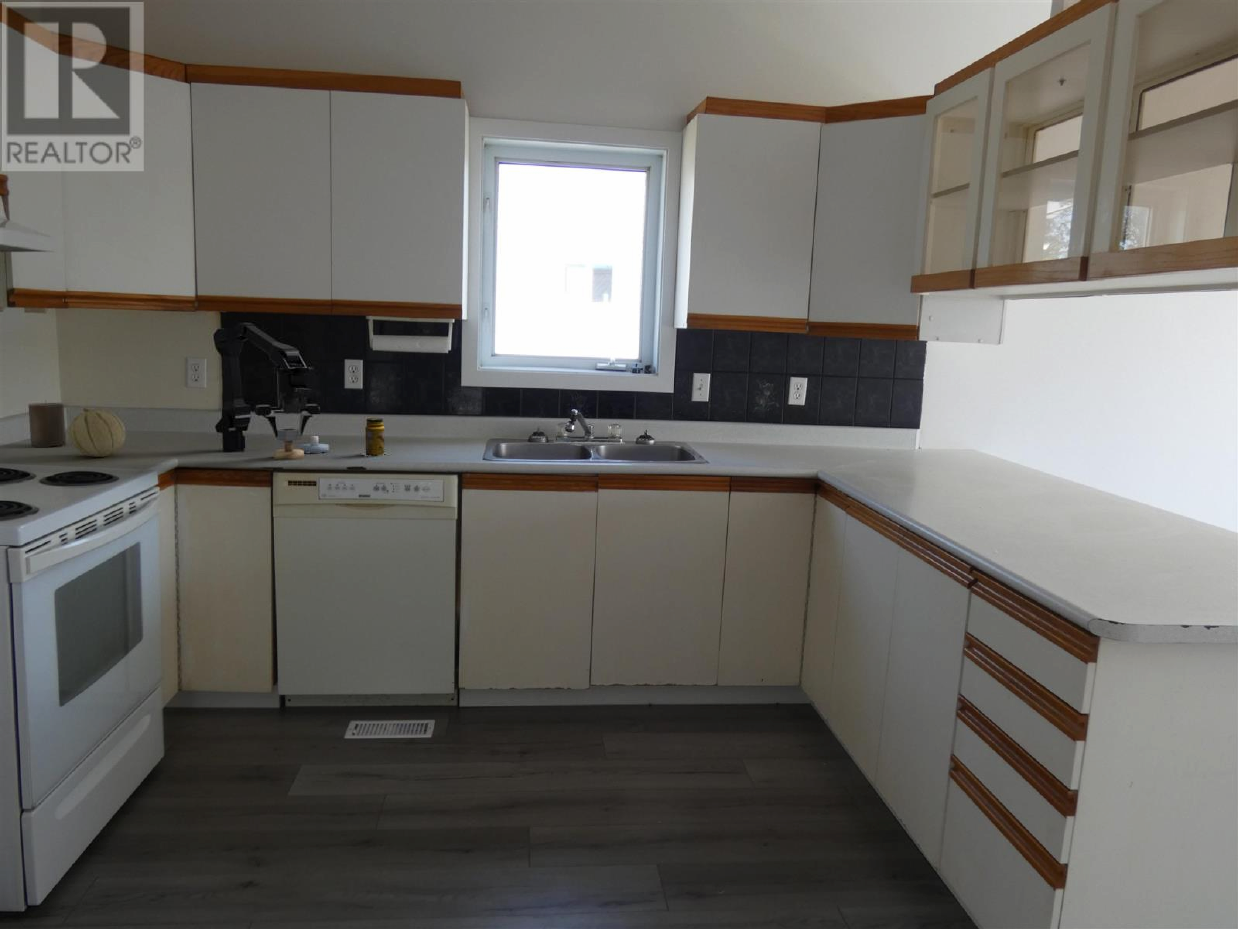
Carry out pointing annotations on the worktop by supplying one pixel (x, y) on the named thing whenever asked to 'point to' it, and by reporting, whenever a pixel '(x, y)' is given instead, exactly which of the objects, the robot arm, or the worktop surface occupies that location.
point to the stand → (288, 452)
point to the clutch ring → (288, 434)
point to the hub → (314, 446)
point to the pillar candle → (47, 424)
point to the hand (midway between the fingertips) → (288, 436)
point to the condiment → (374, 437)
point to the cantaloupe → (97, 433)
